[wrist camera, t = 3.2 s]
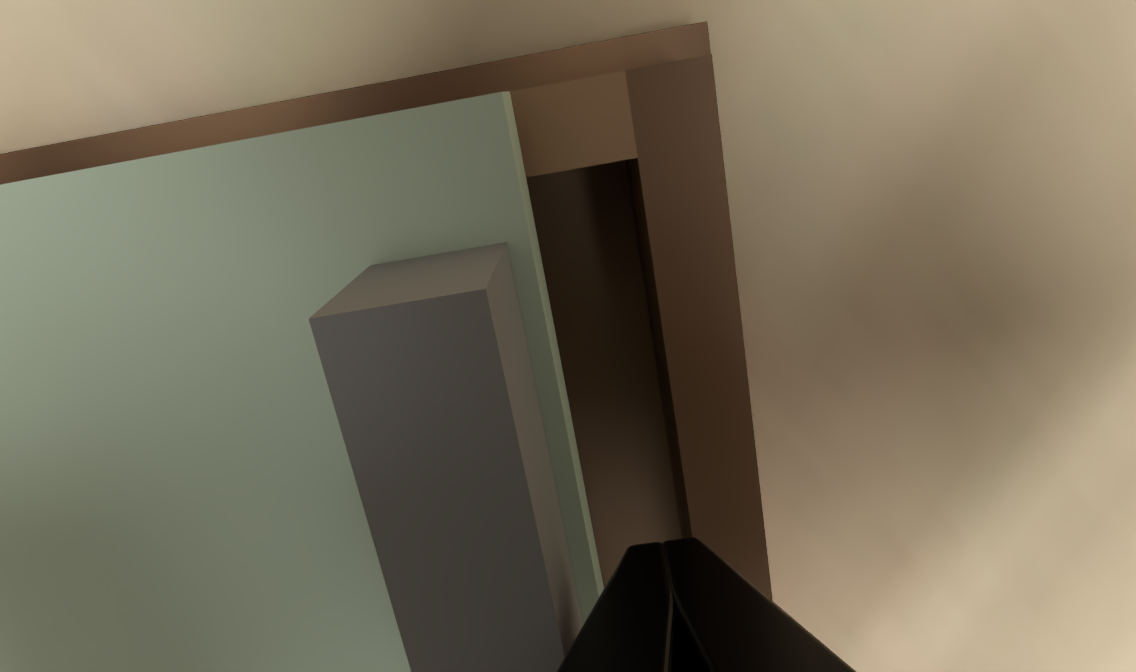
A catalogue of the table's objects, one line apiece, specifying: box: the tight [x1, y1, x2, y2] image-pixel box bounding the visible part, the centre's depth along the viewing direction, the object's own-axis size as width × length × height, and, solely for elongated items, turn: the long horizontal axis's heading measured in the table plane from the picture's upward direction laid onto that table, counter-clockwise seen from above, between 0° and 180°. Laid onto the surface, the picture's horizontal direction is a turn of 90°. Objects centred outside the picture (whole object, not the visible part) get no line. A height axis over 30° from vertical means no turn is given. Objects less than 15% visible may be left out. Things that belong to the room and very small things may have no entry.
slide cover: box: [0, 91, 604, 672], centre depth 9 cm, size 11×11×3 cm
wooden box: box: [0, 21, 772, 601], centre depth 13 cm, size 23×12×4 cm, turn 100°
